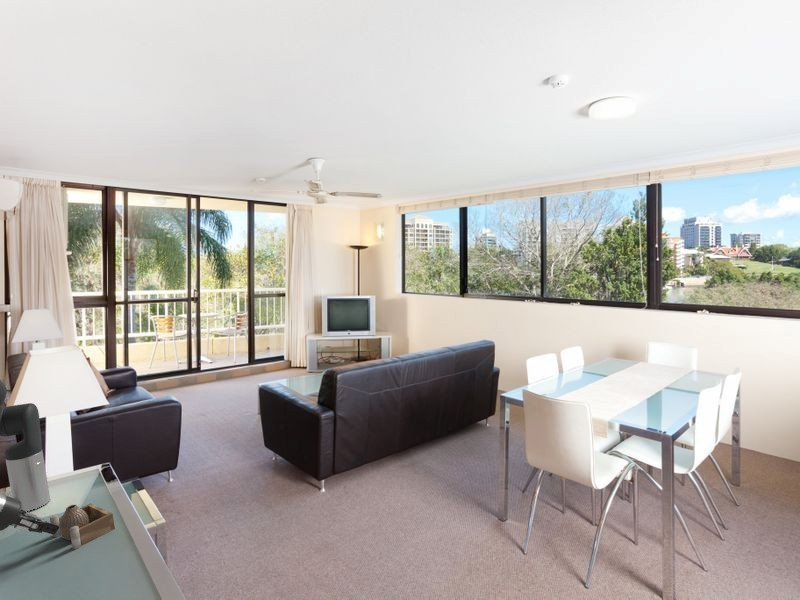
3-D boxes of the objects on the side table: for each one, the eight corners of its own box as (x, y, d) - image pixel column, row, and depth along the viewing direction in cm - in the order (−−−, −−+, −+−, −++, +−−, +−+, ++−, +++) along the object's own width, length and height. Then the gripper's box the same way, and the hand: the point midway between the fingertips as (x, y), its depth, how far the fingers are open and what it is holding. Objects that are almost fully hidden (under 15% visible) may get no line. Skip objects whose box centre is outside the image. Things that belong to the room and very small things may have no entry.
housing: (51, 536, 132) (48, 517, 131) (91, 517, 141) (89, 499, 140) (74, 550, 124) (71, 530, 124) (115, 529, 133) (113, 510, 132)
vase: (80, 543, 128) (75, 512, 127) (54, 544, 127) (49, 514, 127) (96, 528, 134) (91, 499, 133) (72, 529, 134) (67, 501, 133)
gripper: (13, 500, 114) (76, 521, 125) (-7, 489, 121) (54, 510, 132) (-11, 532, 110) (57, 551, 121) (-31, 519, 117) (35, 538, 128)
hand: (55, 530), depth 127 cm, fingers closed
